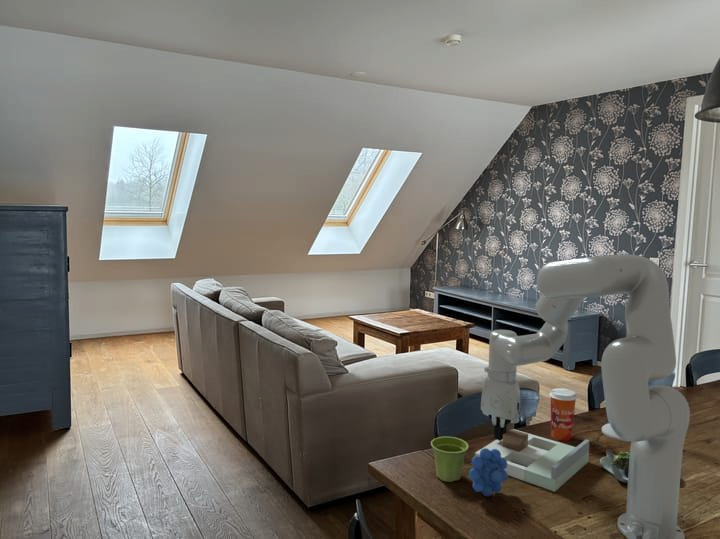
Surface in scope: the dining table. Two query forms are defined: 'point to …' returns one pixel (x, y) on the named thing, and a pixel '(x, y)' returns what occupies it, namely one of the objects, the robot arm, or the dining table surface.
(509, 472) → the white compartment tray
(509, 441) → the block
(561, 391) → the paper cup
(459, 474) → the plant pot
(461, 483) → the dining table surface
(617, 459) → the salad plate
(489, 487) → the grapes
